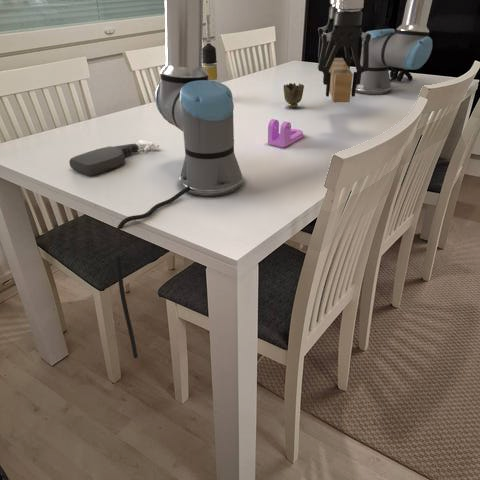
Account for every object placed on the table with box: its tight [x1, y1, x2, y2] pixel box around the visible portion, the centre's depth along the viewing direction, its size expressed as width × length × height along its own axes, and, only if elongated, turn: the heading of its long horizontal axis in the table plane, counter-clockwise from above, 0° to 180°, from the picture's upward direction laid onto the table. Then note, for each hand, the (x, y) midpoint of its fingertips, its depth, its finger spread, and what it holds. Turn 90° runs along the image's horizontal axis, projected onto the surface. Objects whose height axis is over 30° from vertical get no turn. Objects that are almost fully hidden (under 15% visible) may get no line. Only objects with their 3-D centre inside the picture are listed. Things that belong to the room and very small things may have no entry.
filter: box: [202, 14, 218, 82], centre depth 171 cm, size 6×6×30 cm
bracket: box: [267, 118, 304, 148], centre depth 134 cm, size 13×6×7 cm, turn 143°
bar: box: [329, 57, 354, 103], centre depth 140 cm, size 25×5×8 cm, turn 175°
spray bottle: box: [68, 139, 160, 177], centre depth 124 cm, size 3×11×24 cm
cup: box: [283, 82, 305, 109], centre depth 164 cm, size 8×7×8 cm
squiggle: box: [389, 66, 414, 83], centre depth 198 cm, size 11×10×15 cm
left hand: (340, 95), depth 134 cm, fingers open, 7 cm apart
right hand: (334, 83), depth 149 cm, fingers closed on bar, 5 cm apart
